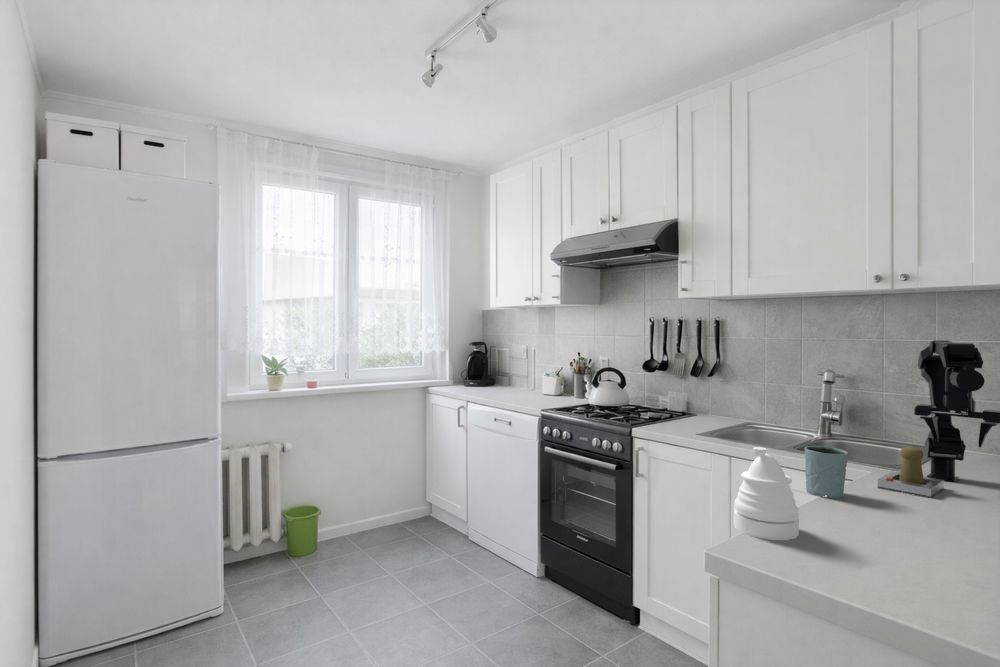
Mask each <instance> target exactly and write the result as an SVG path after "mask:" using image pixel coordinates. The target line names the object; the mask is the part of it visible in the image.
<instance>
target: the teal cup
mask: <svg viewBox="0 0 1000 667" xmlns="http://www.w3.org/2000/svg"><path fill="white" fill-rule="evenodd" d="M804 459H805V461H804V462H805V468H804V471H805V480H806V481H805V487H806V488H805V491H806V493H807V494H810V495H812V496H815V497H819V498H824V497H823V496H825V495H827V497H829V498H828V499H842V498H843V496H844V491H845V490H844V489H845V484H846V483H845V481H846V475H847V465H848V459H849V452H848V451H846V450H844V449H842V448H837V447H831V446H824V445H823V446H822V445H809V446H805V447H804Z"/></svg>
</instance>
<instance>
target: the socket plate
mask: <svg viewBox="0 0 1000 667" xmlns="http://www.w3.org/2000/svg"><path fill="white" fill-rule="evenodd" d="M900 472H901V471H900ZM900 472H899V471H892V470H891V471H890V472H889V473H886V474H885V475H883V476H881V477H879V478H877V488H878V489H881V490H886V489H887V490H888V491H891V490H892V492H896V491H897V493H901V492H903V494H907V493H908V495H912V494H914V495H913V496H917V495H919V496H918V497H922V496H923V498H927V497H928V499H932V498H933V497H935V496H936V495H938V494H939V493H940V492H942V491H943V490H944V489H945V482H944V481H945V480H941V479H935V478H929V477H927V476H923V478H924V485H921V484H916V483H910V482H904V481H899V478H900ZM887 490H886V491H887ZM941 490H942V491H941ZM934 495H935V496H934Z"/></svg>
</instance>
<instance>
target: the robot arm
mask: <svg viewBox="0 0 1000 667" xmlns="http://www.w3.org/2000/svg"><path fill="white" fill-rule="evenodd" d="M983 364H984V361H983V357H982V354H981V352H980V351H979V349H978V347H977V346H976V344H974V343H971V342H970V343H969V342H953V341H951V340H948V339H947V340H945V339H944V340H943V339H942V340H940V339H939V340H938V339H937V340H935V339H934V340H931V341H930V342H929V345H928V346H927V347H925V348H924V349H922V350H921V351H920V353H919V356H918V360H917V368H918V369H920V374H921V377H922V378H923V379H924V380H925V381H926V382H927V383H928V390H929V397H930V398H929V399H930V401H929V402H930V404H923V403H921V404H918V405H916V406H914V411H913V412H914V414H913V415H914V416H919V419H923V420H924V421H925V423H926V425H927V426H928V427H929V430H930V431H929V432H928V434H927V437H926V440H925V442H924V445H923V456H924V457H926V458H928V459H929V458H930V473H929V474H927V475H926V477H929V478H935V479H941V480H944V481H947V482H952V483H954V482H956V481H957V480H959V479H958V478H960V477H959V476H956V461H961V462H963V461H964V458H965V451H966V447H967V446H966V444H965V443H964V440H962V437H961V430H960V429H959V428H958V427H955V426H954V425H953V422H952V417H960V418H969V419H981V420H982V422H980V427H979V434H978V442H977V443H978V448H982V446H983V444H984V442H985V440H986V437H987V435H988V434H989V431H990V430H991V429H992V427H997V426H998V425H1000V410H994V409H993V410H992V409H984V410H982V411H976V400H975V398H973V392H976V391H979V390H981V388H983V387H984V385H985V378H984V375H983V374H982V373H981V372H979V371H978V370H975V369H983Z"/></svg>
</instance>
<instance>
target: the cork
mask: <svg viewBox="0 0 1000 667" xmlns="http://www.w3.org/2000/svg"><path fill="white" fill-rule="evenodd" d="M899 454H900V456H901V458H902V461H901V467H900V478H899V481H904V482H910V483H916V484H921V485H924V478H923V477H924V473H923V467H922V460H923V458H924V450H922V449H920V448H917V447H915V446H914V447H913V446H905V447H901V449H900V453H899Z"/></svg>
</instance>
